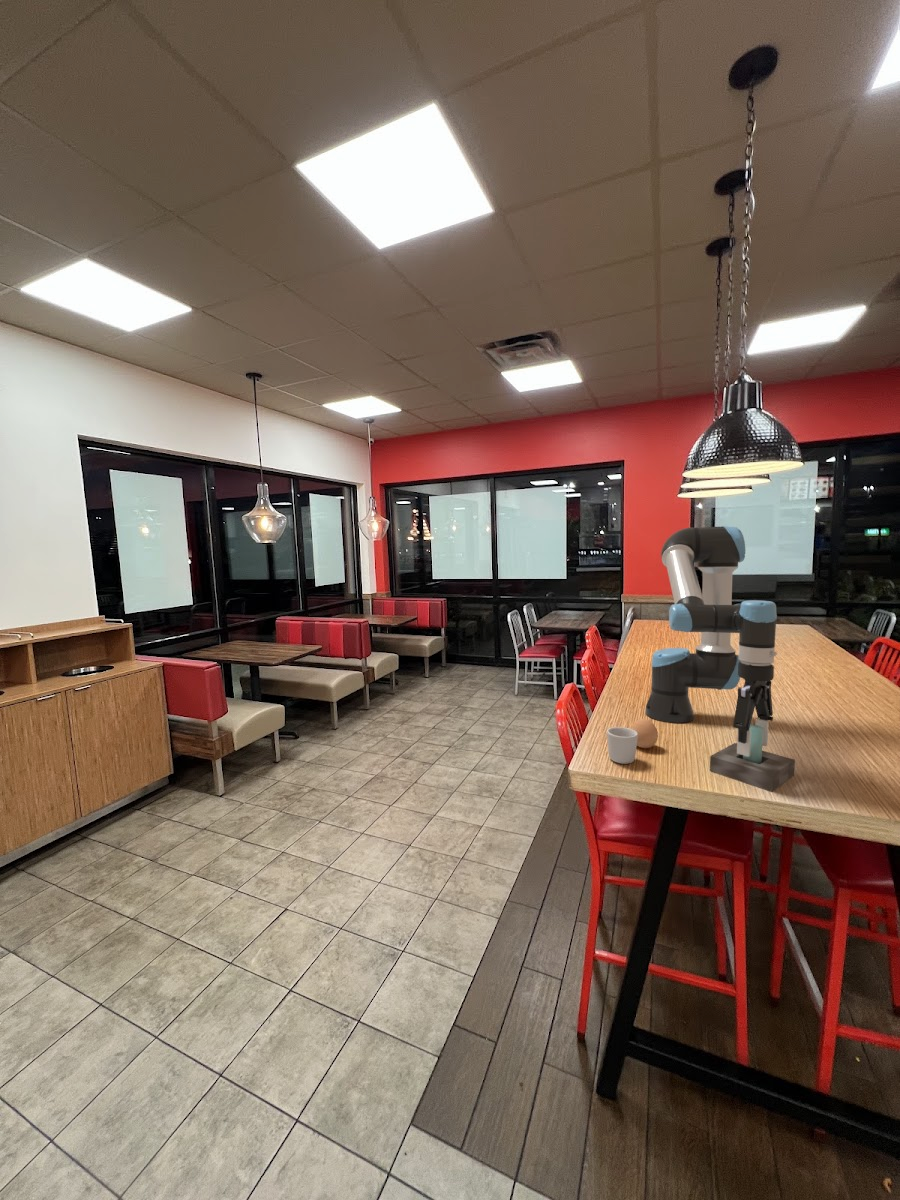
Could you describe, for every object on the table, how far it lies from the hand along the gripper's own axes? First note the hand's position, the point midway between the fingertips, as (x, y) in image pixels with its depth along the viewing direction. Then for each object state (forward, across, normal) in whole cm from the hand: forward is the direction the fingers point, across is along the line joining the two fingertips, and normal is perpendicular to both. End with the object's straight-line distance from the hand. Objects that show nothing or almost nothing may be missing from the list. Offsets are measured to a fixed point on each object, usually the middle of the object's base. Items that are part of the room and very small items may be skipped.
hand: (752, 749), depth 120 cm
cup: (+6, -18, +26) cm, 32 cm away
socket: (+6, 0, 0) cm, 6 cm away
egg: (+6, -6, +26) cm, 27 cm away
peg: (+6, 0, 0) cm, 6 cm away
